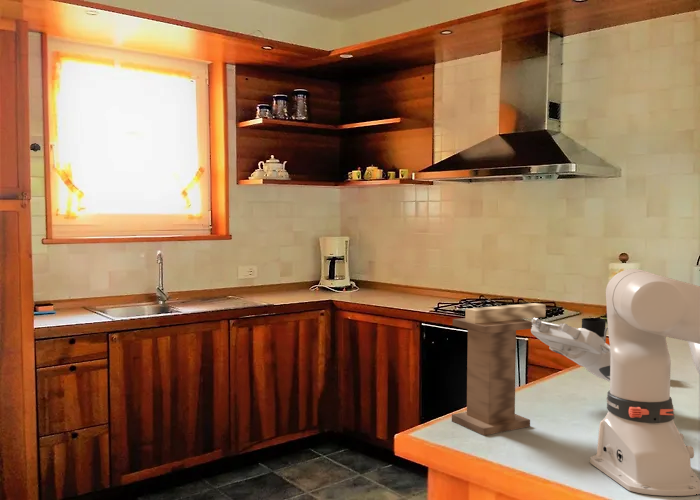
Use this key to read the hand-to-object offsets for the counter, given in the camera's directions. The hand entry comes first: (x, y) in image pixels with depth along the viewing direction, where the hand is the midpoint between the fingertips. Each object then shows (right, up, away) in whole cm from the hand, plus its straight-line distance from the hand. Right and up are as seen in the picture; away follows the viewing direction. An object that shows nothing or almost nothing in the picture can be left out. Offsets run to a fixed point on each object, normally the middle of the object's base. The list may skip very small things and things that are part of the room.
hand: (547, 323), depth 167 cm
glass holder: (+33, -20, +53) cm, 66 cm away
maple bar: (-12, +2, -7) cm, 14 cm away
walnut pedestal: (-16, -23, -8) cm, 29 cm away
